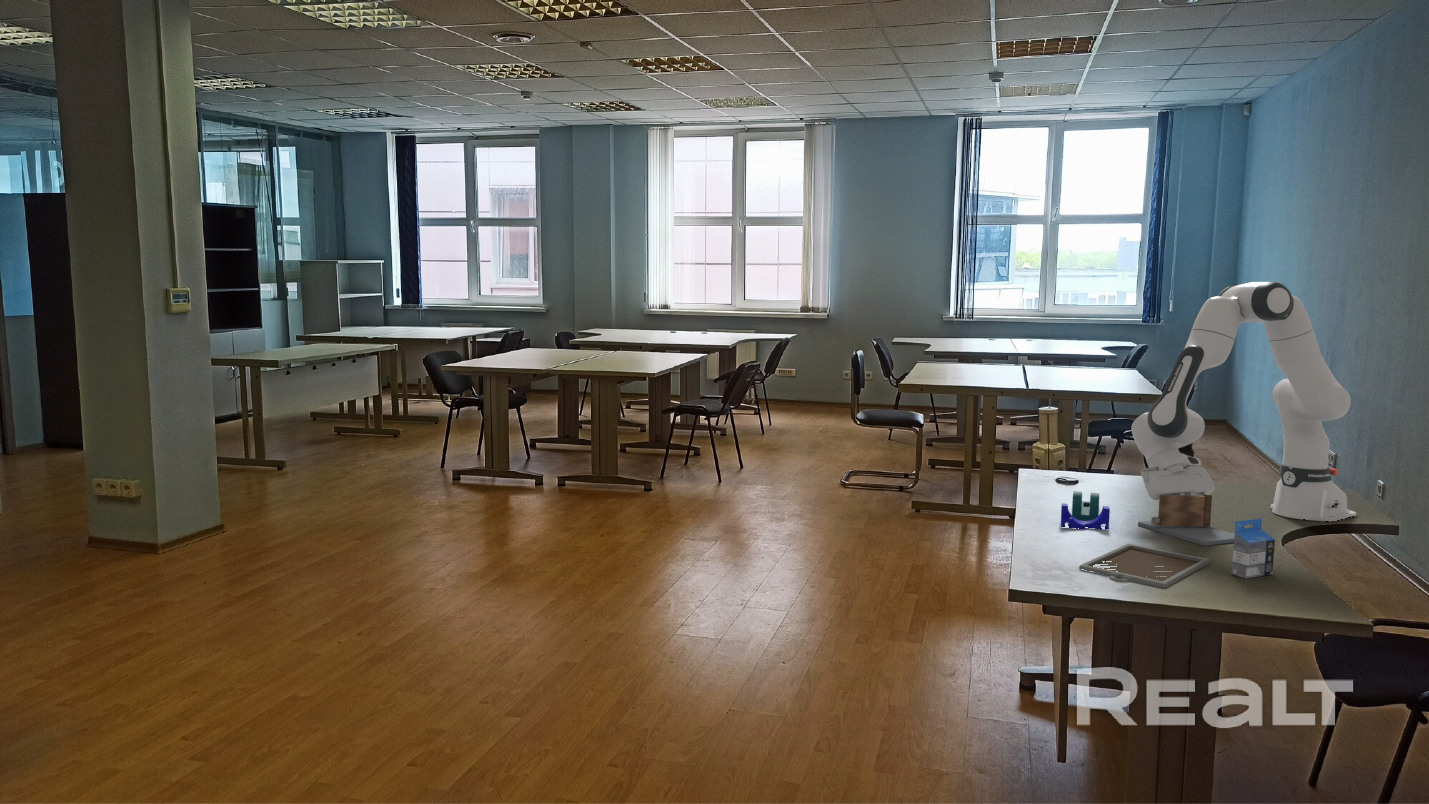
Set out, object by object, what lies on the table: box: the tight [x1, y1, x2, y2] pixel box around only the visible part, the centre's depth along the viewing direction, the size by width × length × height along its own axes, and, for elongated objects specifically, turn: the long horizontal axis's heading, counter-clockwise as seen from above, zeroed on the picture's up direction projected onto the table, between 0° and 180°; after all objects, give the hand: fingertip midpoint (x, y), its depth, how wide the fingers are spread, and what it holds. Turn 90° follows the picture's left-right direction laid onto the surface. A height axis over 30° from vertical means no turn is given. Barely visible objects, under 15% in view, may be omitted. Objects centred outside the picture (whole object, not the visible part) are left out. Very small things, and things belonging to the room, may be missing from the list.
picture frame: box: [1079, 543, 1210, 589], centre depth 226 cm, size 19×2×30 cm
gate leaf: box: [1150, 493, 1213, 527], centre depth 259 cm, size 15×2×8 cm, turn 90°
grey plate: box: [1137, 519, 1235, 547], centre depth 257 cm, size 14×22×1 cm, turn 21°
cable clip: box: [1060, 502, 1111, 530], centre depth 262 cm, size 12×4×6 cm, turn 73°
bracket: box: [1071, 490, 1100, 521], centre depth 276 cm, size 18×7×8 cm, turn 157°
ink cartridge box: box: [1230, 518, 1276, 580], centre depth 220 cm, size 9×4×12 cm, turn 114°
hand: (1193, 509), depth 260 cm, fingers closed
